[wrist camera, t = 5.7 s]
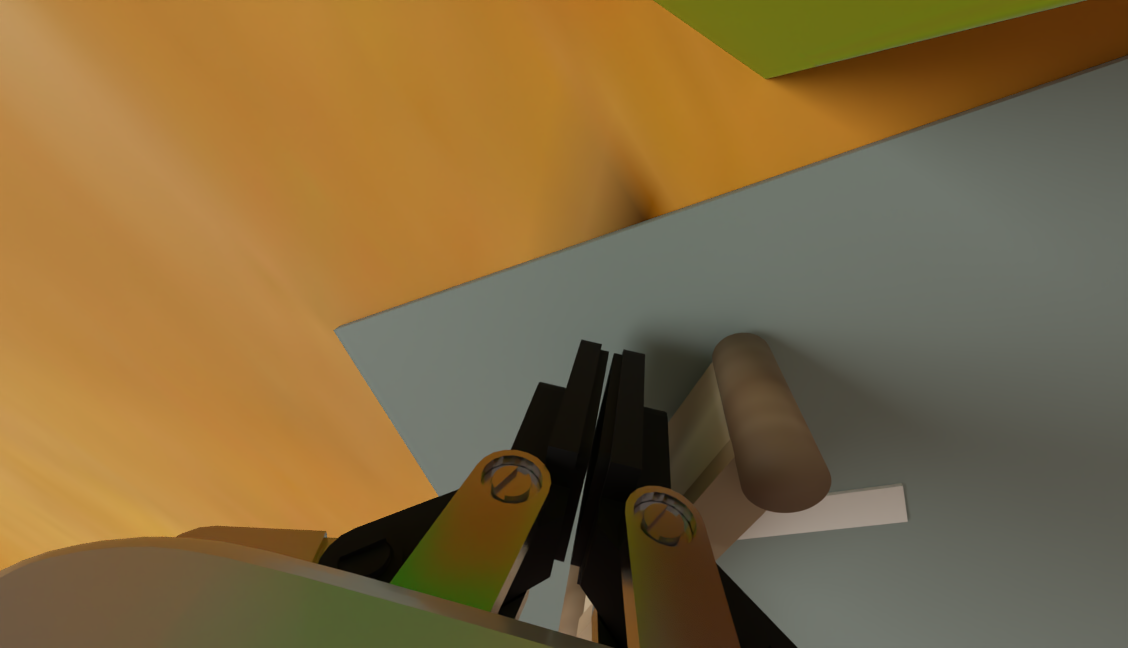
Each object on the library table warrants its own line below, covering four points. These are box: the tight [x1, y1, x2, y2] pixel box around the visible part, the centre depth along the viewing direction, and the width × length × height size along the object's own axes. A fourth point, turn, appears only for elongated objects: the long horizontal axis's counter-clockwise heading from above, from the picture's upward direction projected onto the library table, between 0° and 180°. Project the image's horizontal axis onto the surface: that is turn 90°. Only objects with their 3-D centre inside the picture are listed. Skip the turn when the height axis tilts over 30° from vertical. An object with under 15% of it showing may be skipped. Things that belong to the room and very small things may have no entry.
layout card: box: [334, 55, 1128, 648], centre depth 14 cm, size 19×20×1 cm
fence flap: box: [576, 333, 831, 641], centre depth 11 cm, size 8×1×4 cm, turn 157°
